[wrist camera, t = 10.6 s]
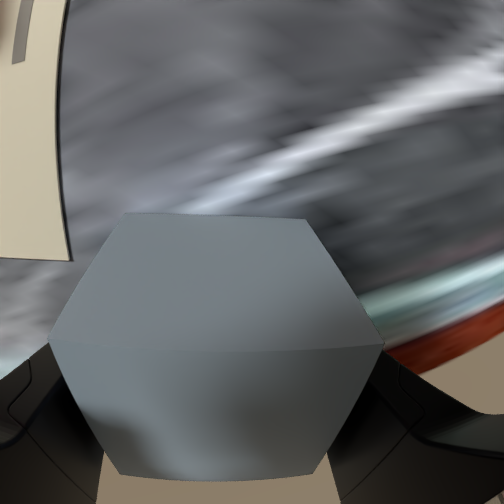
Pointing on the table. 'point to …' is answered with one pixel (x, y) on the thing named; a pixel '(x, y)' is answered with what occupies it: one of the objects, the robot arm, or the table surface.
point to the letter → (30, 130)
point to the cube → (214, 347)
